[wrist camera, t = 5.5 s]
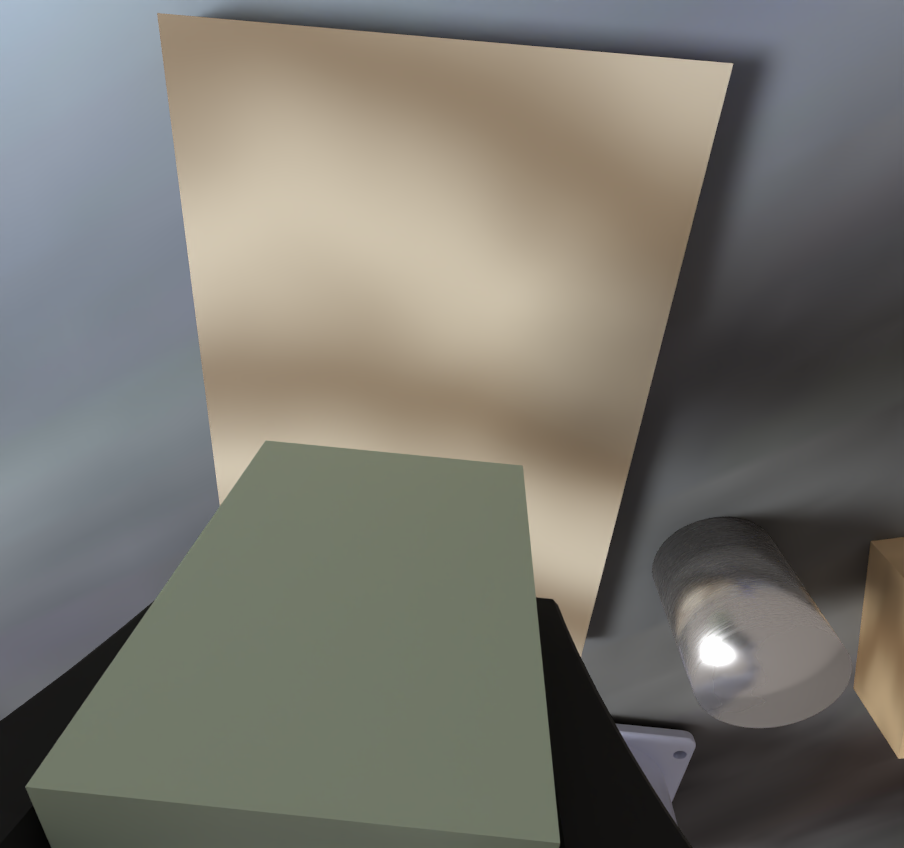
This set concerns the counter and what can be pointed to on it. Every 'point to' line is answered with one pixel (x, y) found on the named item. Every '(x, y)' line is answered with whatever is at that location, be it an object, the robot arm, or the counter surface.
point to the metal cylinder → (747, 626)
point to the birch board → (439, 253)
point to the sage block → (326, 672)
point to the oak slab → (883, 641)
